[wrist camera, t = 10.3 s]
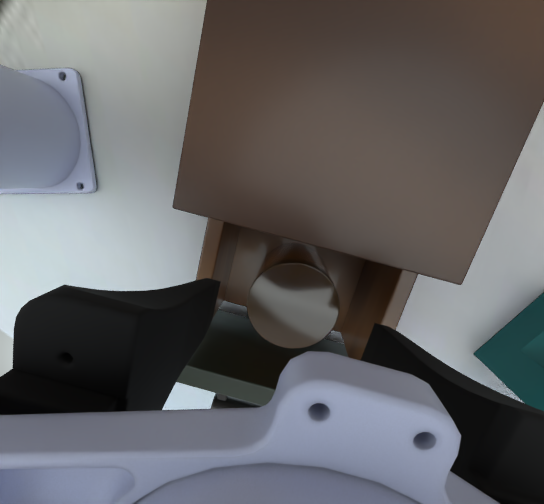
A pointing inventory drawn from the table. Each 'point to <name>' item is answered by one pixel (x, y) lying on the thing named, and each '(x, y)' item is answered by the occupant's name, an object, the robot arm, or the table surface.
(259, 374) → the drawer
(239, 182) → the cabinet
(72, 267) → the table surface
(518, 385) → the bracket
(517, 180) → the table surface
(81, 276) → the table surface
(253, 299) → the jar
